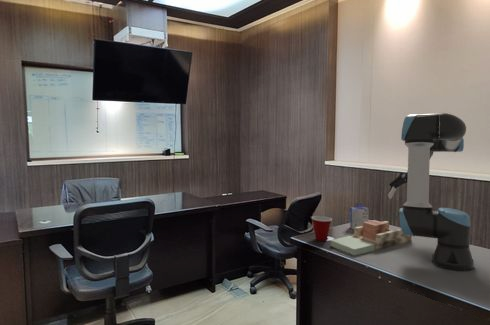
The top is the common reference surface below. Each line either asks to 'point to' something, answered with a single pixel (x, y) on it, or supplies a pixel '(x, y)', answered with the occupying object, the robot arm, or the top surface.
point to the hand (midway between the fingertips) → (400, 199)
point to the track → (383, 237)
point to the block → (373, 229)
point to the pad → (352, 245)
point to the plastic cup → (321, 227)
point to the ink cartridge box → (358, 215)
